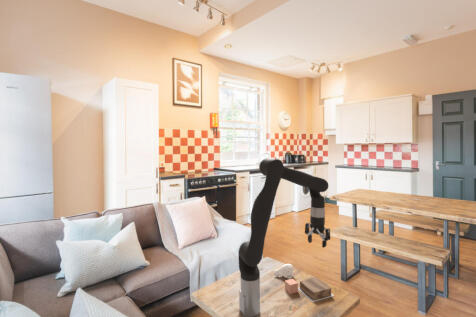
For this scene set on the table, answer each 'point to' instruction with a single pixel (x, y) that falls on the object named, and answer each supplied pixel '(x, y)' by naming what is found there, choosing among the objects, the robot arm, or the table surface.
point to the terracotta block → (291, 286)
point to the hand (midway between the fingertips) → (316, 244)
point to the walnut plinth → (315, 288)
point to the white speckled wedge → (284, 271)
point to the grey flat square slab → (311, 298)
